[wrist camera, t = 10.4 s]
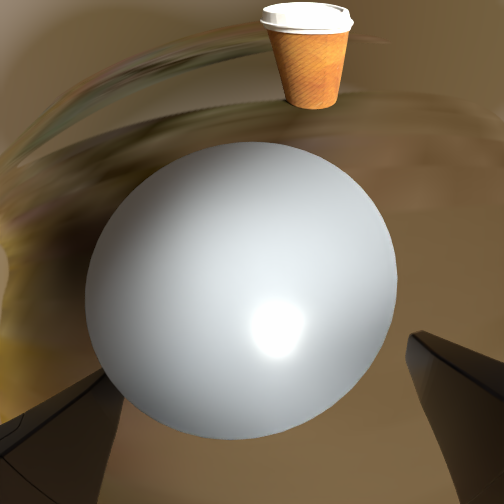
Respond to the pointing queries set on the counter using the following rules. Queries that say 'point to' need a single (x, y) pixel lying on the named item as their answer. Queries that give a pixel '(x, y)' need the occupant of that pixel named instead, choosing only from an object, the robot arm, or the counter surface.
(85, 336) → the counter surface
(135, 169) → the counter surface
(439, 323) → the counter surface
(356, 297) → the white tapered cylinder
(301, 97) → the disposable coffee cup
